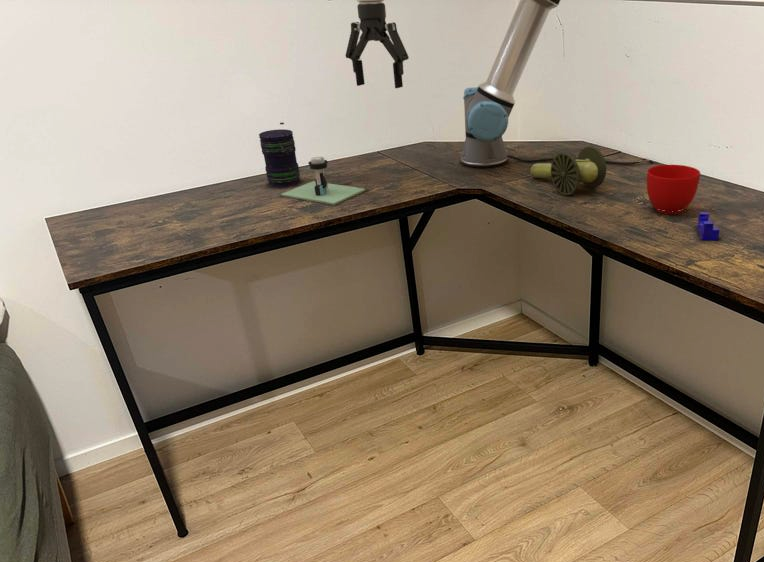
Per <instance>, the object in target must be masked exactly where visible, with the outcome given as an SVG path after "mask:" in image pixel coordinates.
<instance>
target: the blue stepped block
mask: <svg viewBox="0 0 764 562" xmlns="http://www.w3.org/2000/svg"><path fill="white" fill-rule="evenodd" d="M697 218H698V219H697V227H696V229H697V231H698V234H699V236H700V238H701V240H702V241H719V236H720V228H719V227H718V226H715V224H714V221H710V220H709V219H710V213H709V212H708V211H699V212H698V217H697ZM698 224H699V225H698ZM700 230H701V231H700Z"/></svg>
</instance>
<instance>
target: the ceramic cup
mask: <svg viewBox="0 0 764 562" xmlns="http://www.w3.org/2000/svg"><path fill="white" fill-rule="evenodd" d="M700 178H701V172H700V170H699V169H697V168H695V167H692V166H689V165H683V164H660V165H655V166H651V167H649V168H648V169H647V171H646V191H647V196H648V199H649V201H650V203H651V205H652V206H653V207H654V209H655V210H656V212H658V213H660V214H664V215H679V214H680V213H682V212H683V211H684V210H685V209H686V208H687V207H688V206H690V204H691V203H692V202H693V200H694V199H695V195H696V193H697V191H698V187H699V183H700ZM656 208H657V209H656ZM658 209H660V210H658ZM682 209H683V210H682ZM662 210H665V211H662ZM678 210H681V211H678ZM672 211H673V212H672Z"/></svg>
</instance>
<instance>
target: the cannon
mask: <svg viewBox="0 0 764 562" xmlns="http://www.w3.org/2000/svg"><path fill="white" fill-rule="evenodd" d="M553 158H554V159H553V160H551V161H552V162H551V163H550V162H549V163H547V162H546V163H542V162H537V163H536V162H535V163H534V164H532V166H531V167H530V175H531V176H532V177H533V178H534V179H545V180H546V179H547V180H548V179H549V180H551V182H552V184H553V187H554V188H555V190H556V191H557V192H558V193H559V194H561V195H562V196H571V195H573V194H574V193H576V191H577V190H578V189H579V186H580V183H581V184H583V185H584V186H585V187H587V188H591V189H593V188H594V189H595V188H597V187H600V186H601V185H602V184H603V182H604V181H605V179H606V176H607V163H606V162H605V161H606V159H605V156H604V155H603V153H602V151H600V149H599V148H598V147H595V146H592V145H591V146H590V145H589V146H586V147H584V148H582V149H581V150H580V151H579V153H578V155H577V157H576V158H577V160H575V159H574V158H575V157H574V156H573V155H571V153H568V152H561V153H558V154H557V155H555V157H553Z"/></svg>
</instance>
